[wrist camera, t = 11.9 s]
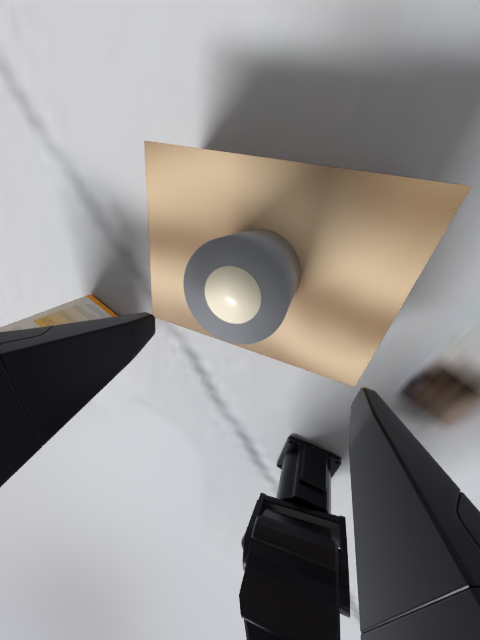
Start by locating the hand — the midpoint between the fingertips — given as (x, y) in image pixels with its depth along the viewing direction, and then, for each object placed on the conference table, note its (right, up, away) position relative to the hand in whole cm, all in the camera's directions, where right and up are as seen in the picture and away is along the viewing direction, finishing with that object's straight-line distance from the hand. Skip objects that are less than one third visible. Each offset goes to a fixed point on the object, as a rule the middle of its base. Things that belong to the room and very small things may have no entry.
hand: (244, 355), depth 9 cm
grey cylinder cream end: (+1, +4, +5) cm, 7 cm away
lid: (+1, +5, +6) cm, 8 cm away
